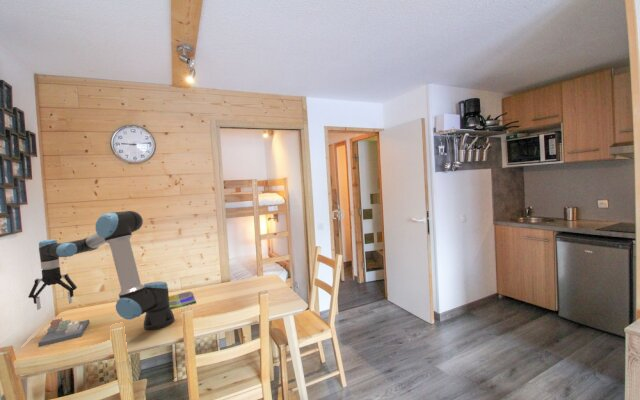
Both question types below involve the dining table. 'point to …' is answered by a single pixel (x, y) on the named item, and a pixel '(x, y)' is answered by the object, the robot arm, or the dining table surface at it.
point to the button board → (62, 334)
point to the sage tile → (64, 324)
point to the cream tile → (73, 325)
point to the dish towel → (181, 300)
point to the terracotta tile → (55, 323)
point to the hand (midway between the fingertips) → (55, 305)
